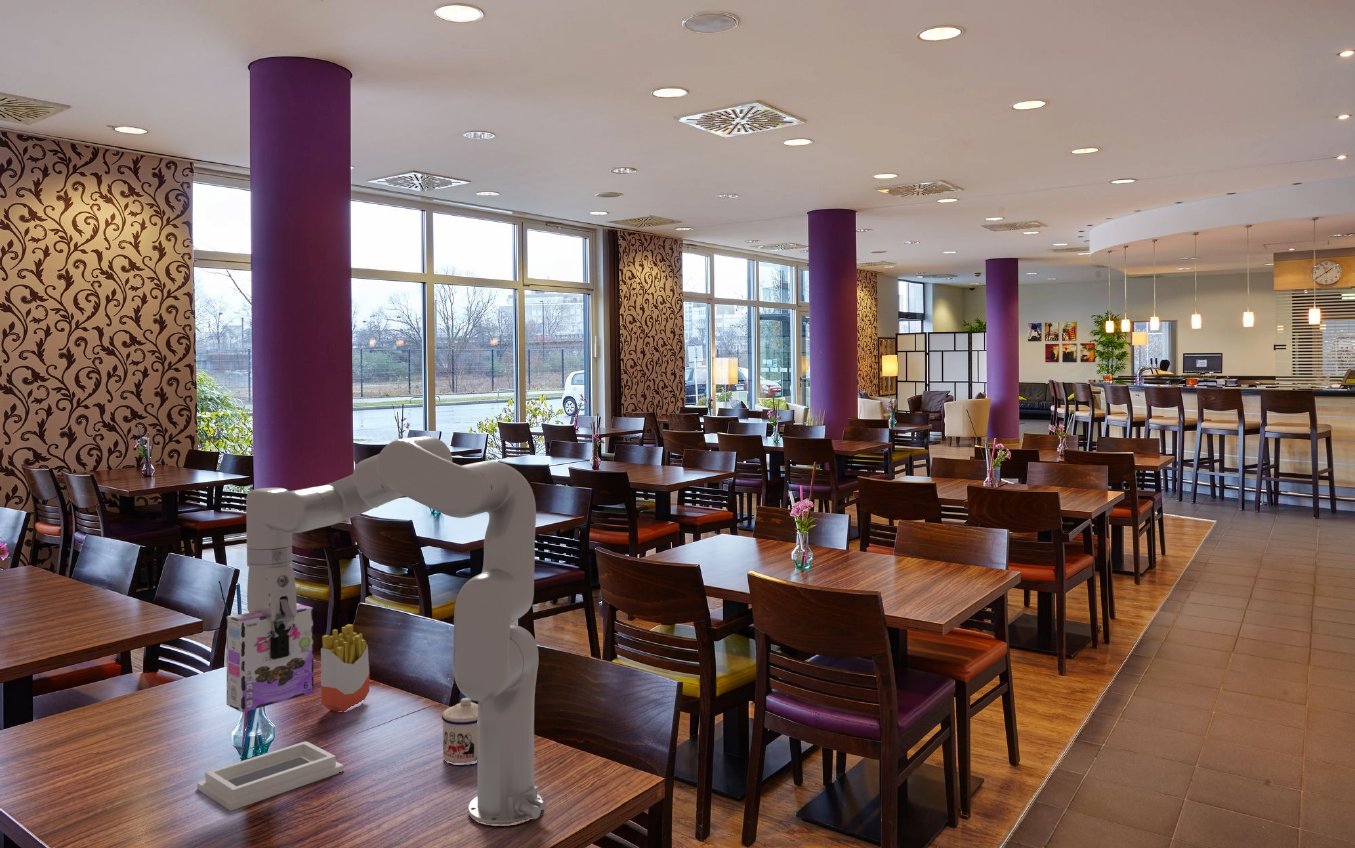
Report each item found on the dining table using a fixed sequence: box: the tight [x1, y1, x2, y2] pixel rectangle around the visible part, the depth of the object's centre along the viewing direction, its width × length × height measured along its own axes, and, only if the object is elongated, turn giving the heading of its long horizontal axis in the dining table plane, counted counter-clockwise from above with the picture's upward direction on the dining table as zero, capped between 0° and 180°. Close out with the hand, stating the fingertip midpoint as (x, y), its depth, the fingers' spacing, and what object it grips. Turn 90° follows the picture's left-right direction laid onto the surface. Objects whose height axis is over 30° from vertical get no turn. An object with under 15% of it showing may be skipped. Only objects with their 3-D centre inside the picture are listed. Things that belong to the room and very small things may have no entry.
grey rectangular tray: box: [196, 740, 345, 812], centre depth 167 cm, size 13×21×3 cm, turn 140°
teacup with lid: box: [441, 697, 478, 763], centre depth 177 cm, size 12×9×12 cm
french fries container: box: [320, 623, 370, 713], centre depth 204 cm, size 5×11×18 cm, turn 160°
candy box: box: [226, 602, 315, 713], centre depth 166 cm, size 14×6×16 cm, turn 143°
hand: (270, 652), depth 166 cm, fingers closed on candy box, 6 cm apart
